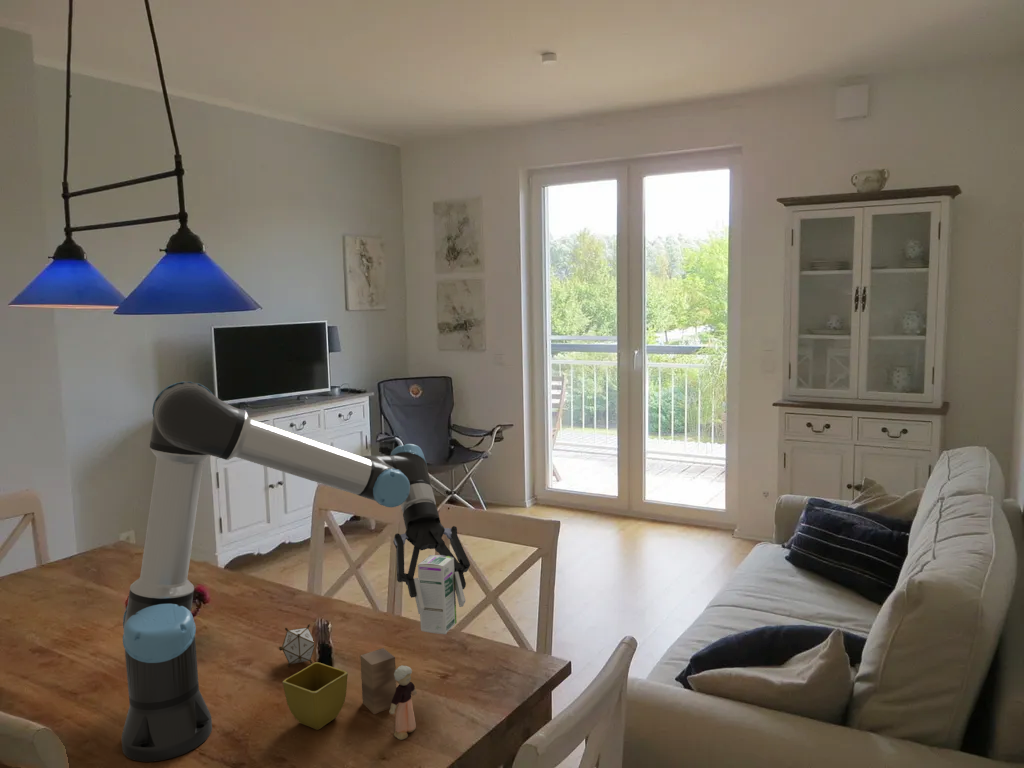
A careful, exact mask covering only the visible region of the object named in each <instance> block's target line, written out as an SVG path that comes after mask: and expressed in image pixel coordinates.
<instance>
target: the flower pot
mask: <svg viewBox="0 0 1024 768" xmlns="http://www.w3.org/2000/svg"><path fill="white" fill-rule="evenodd" d="M312 663H313V662H312ZM312 663H310V664H309V665H308V666H307V667H305V668H303V669H301V670H300V671H297V672H296V673H294V674H292V675H291V676H289V677H286V678H285V679H284V680H283V681H281V682H282V685H283V690H284V695H285V700H286V703H287V706H288V708H289V711H290V714H291V715H292V716H293V717H294V719H295V720H297V722H298V723H300V724H302V725H304V726H306V727H309V728H312V729H314V730H320V729H322V728H324V727H325V726H326V725H327V724H329V723H330V722H331V721H334V720H335V719H336V718H337V717H338V715H339V714H340V712H341V711H342V708H343V706H344V704H345V700H346V696H347V685H348V676H349V675H348V674H349V673H348V671H346V670H344V669H340V668H337V667H334V666H331V665H328V664H325V663H321V662H318V661H317V662H314V663H313V664H312Z"/></svg>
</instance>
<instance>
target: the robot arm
mask: <svg viewBox="0 0 1024 768" xmlns="http://www.w3.org/2000/svg"><path fill="white" fill-rule="evenodd" d="M151 409H152V412H151V413H152V418H153V419H152V428H151V434H150V441H149V450H150V451H151V452H152V454H153V455H154V456H155V458H156V461H155V468H154V473H153V474H154V476H153V481H152V490H151V495H150V496H151V497H150V504H149V509H148V510H149V511H148V518H147V525H146V532H145V541H144V546H143V547H144V548H143V553H142V561H141V562H142V563H141V568H140V575H139V576H140V577H139V578H137V579H136V580H135V581H134V582H133V583H131V584H130V586H129V593H128V599H127V606H126V607H125V608H126V609H125V611H124V614H123V617H122V618H123V620H122V625H123V626H122V628H123V635H122V644H123V649H124V657H125V666H126V667H125V668H126V679H127V690H128V699H129V701H128V702H129V708H128V711H127V715H126V718H125V722H124V725H123V729H122V734H121V749H122V753H123V754H124V756H126V757H127V758H128V759H130V760H133V761H136V762H147V763H148V762H151V763H152V762H158V761H164V760H170V759H174V758H176V757H180V756H182V755H184V754H187V753H189V752H191V751H193V750H195V749H196V748H198V747H199V746H200V745H202V744H203V743H204V742H205V741H207V740H208V739H209V736H211V733H212V730H213V723H212V722H213V721H212V715H211V711H210V710H209V707H208V705H207V704H206V703H207V702H205V699H204V697H203V695H202V693H201V692H200V684H199V675H198V671H199V670H198V660H197V659H198V657H197V645H196V632H197V629H196V623H195V620H194V616H193V613H192V606H193V599H194V593H195V592H194V591H195V586H194V585H193V583H192V582H191V581H190V580H189V579H188V575H189V568H190V561H191V554H192V548H193V539H194V533H195V528H196V527H195V525H196V519H197V512H198V506H199V505H198V504H199V497H200V490H201V485H202V484H201V483H202V477H203V476H202V475H203V469H204V462H205V461H206V460H208V458H210V457H215V458H219V459H223V460H225V461H229V460H230V459H233V458H238V459H241V460H244V461H247V462H251V463H254V464H257V465H260V466H262V467H263V466H264V467H267V468H270V469H274V470H276V471H280V472H283V473H286V474H290V475H293V476H296V477H299V478H302V479H305V480H309V481H311V482H314V483H318V484H322V485H325V486H328V487H331V488H333V489H338V490H340V491H344V492H348V493H350V494H354V495H356V496H359V497H362V498H365V499H369V500H372V501H375V502H376V503H378V505H380V506H383V507H385V508H396V507H399V506H400V508H401V511H402V517H403V522H404V527H405V532H404V533H402V534H400V533H395V535H394V537H393V541H392V543H393V544H394V547H395V549H396V553H395V554H396V581H397V582H398V583H402V582H403V583H405V585H407V590H408V594H409V597H410V598H414V599H415V605H416V608H417V614H418V615H420V614H422V613H423V610H424V604H423V599H422V595H421V590H420V585H419V581H418V577H414V576H415V572H416V568H417V565H418V559H419V554H420V551H425V550H435V552H436V553H439V554H438V555H443V556H450V557H453V558H454V573H455V596H456V599H457V603H458V607H460V608H462V607H464V605H465V603H466V597H465V596H466V595H465V594H464V593H465V592H464V590H465V588H466V586H467V582H466V578H465V574H464V573H467V572H468V571H469V569H470V566H471V562H470V561H469V558H468V556H467V554H466V552H465V550H464V547H463V545H462V543H461V540H460V538H459V537H458V528H457V526H455V525H453V526H452V527H451V528H450V527H444V525H442V523H441V519H440V515H439V511H438V507H437V505H436V498H435V494H434V489H433V487H432V484H431V479H430V478H431V477H430V476H429V475H430V474H429V471H428V470H429V469H428V464H427V461H426V458H425V455H424V452H423V450H422V448H421V447H420V446H419V445H416V444H413V443H406V444H404V445H401V444H400V445H398V446H396V447H395V448H393V449H392V450H391V452H390V455H360V454H354V453H351V452H350V451H349V452H348V451H346V450H343V449H339V448H337V447H334V446H331V445H329V444H326V443H322V442H319V441H317V440H313V439H311V438H308V437H304V436H302V435H299V434H296V433H293V432H290V431H288V430H284V429H282V428H279V427H276V426H273V425H270V424H267V423H264V422H263V421H262V422H261V421H259V420H255V419H252V418H250V416H249V414H248V412H247V411H246V410H244V409H240V408H238V407H235V406H232V405H231V404H229V403H227V402H225V401H223V400H221V399H220V398H218V397H217V396H215V395H214V393H213V392H212V391H211V390H210V389H209V388H208V387H206V386H204V385H203V384H201V383H198V382H192V381H179V382H175V383H172V384H170V385H168V386H166V387H165V388H164V389H162V390H161V391H160V392H159V393H158V395H157V396H156V397H155V399H154V402H153V405H152V408H151ZM444 535H445V536H446V538H447V540H449V543H450V546H451V547H452V550H453V552H454V554H455V556H456V557H455V556H454V554H453V553H452V552H451V550H450V548H449V547H448V546H447V545H446V542H445V541H444V539H443V537H444ZM406 541H408V542H409V543H410V544H411V545H412V546H413V549H412V555H411V558H410V563H409V567H408V572H407V573H406V572H405V548H404V547H405V543H406Z"/></svg>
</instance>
